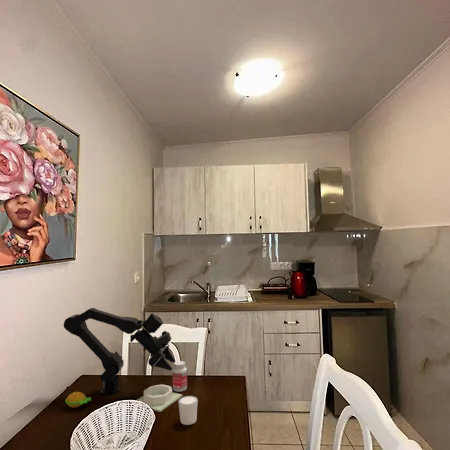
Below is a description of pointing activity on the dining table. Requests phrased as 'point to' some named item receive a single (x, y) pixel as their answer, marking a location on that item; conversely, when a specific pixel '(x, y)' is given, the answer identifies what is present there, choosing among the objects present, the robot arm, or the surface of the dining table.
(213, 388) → the dining table surface
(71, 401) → the toy pineapple
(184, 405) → the shot glass
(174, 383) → the pill bottle
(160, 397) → the octagonal tray
